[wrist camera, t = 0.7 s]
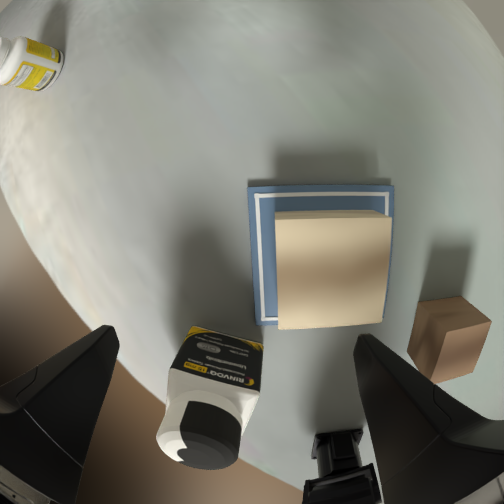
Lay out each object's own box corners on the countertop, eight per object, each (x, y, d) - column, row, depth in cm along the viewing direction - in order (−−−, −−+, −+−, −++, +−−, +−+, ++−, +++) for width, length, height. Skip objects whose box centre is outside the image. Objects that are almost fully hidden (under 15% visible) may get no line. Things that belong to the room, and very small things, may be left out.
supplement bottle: (45, 52, 18) (-9, 35, 9) (71, 49, 18) (13, 24, 9) (29, 92, 19) (-29, 83, 10) (54, 92, 20) (-10, 79, 10)
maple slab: (366, 300, 23) (381, 322, 19) (277, 305, 23) (278, 329, 20) (372, 209, 21) (391, 217, 17) (274, 211, 21) (274, 219, 17)
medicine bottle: (264, 342, 25) (256, 446, 14) (247, 391, 27) (233, 484, 16) (192, 323, 25) (144, 415, 14) (183, 374, 27) (147, 460, 16)
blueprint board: (381, 315, 23) (383, 318, 23) (256, 322, 25) (255, 326, 24) (391, 185, 20) (394, 186, 20) (247, 187, 21) (247, 187, 21)
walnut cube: (448, 342, 24) (472, 372, 18) (406, 350, 25) (428, 385, 19) (460, 295, 22) (491, 321, 17) (417, 301, 23) (446, 331, 17)
